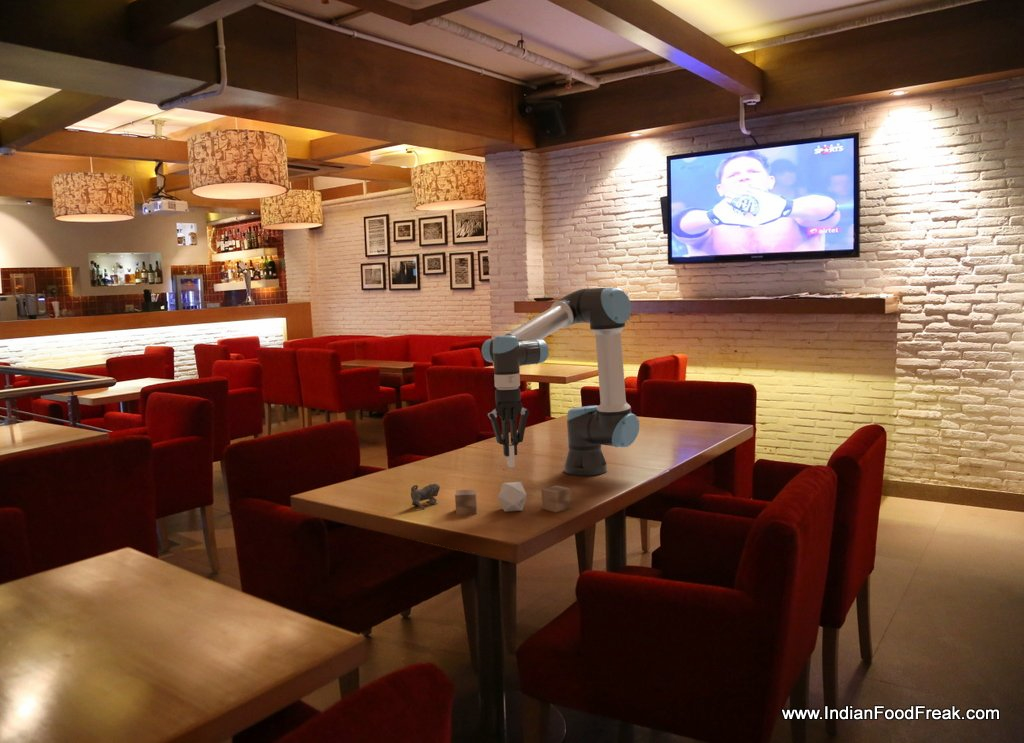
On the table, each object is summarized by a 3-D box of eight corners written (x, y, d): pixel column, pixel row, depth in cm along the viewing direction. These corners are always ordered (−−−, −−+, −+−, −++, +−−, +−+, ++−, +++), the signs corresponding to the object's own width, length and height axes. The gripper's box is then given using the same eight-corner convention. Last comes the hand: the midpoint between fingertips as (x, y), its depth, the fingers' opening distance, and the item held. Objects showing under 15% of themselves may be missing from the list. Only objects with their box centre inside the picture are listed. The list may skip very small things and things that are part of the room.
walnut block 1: (477, 508, 239) (476, 489, 238) (476, 514, 233) (475, 494, 232) (457, 509, 238) (456, 490, 238) (456, 515, 233) (455, 495, 232)
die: (517, 517, 229) (534, 487, 231) (490, 502, 230) (507, 472, 232) (517, 520, 237) (533, 490, 240) (491, 505, 238) (507, 476, 241)
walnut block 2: (556, 504, 239) (556, 485, 238) (570, 508, 234) (570, 488, 234) (542, 508, 235) (541, 489, 235) (556, 512, 231) (555, 492, 230)
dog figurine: (419, 511, 238) (418, 487, 238) (406, 508, 242) (405, 484, 241) (447, 501, 248) (446, 478, 247) (434, 499, 251) (433, 476, 250)
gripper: (490, 391, 226) (494, 471, 228) (532, 387, 230) (536, 466, 233) (482, 388, 233) (486, 466, 235) (523, 384, 237) (526, 461, 240)
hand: (511, 466), depth 234 cm, fingers closed
